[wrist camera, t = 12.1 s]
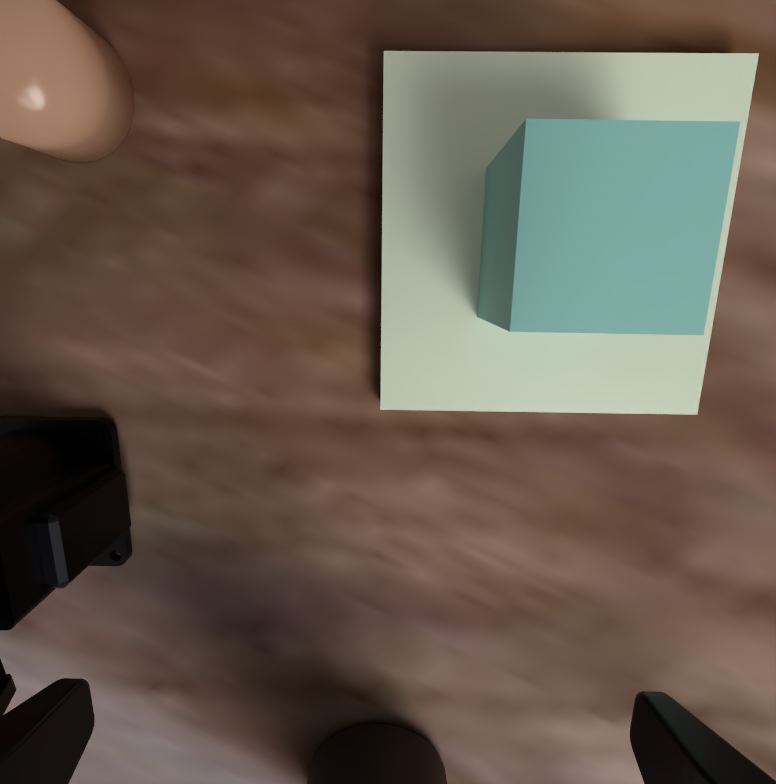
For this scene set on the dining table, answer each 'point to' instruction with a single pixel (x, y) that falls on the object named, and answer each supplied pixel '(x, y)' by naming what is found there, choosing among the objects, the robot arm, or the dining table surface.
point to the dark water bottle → (376, 758)
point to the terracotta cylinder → (60, 83)
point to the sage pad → (465, 223)
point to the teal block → (605, 225)
